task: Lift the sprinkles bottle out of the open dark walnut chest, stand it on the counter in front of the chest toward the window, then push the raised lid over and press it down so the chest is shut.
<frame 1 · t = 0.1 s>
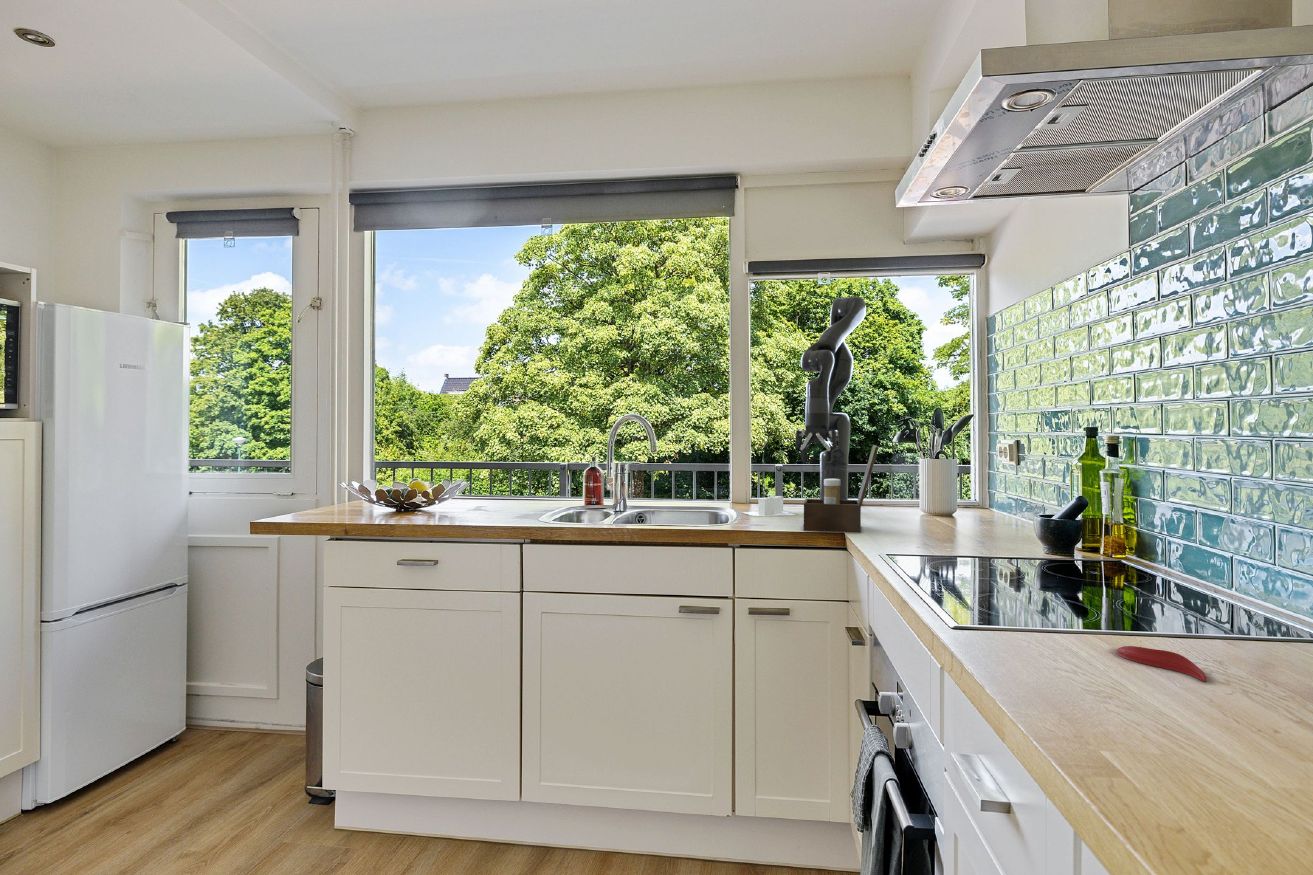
hand: (816, 462, 239), 17 cm above the countertop, tool pointing down, fingers open, 8 cm apart
cayenne pepper: (1161, 666, 91), on the countertop
chest: (831, 528, 209), on the countertop
chest lid: (867, 473, 207), point 16 cm above the countertop, hinge at 105.0°
napkin holder: (768, 514, 243), on the countertop
sprinkles bottle: (831, 527, 209), resting on chest
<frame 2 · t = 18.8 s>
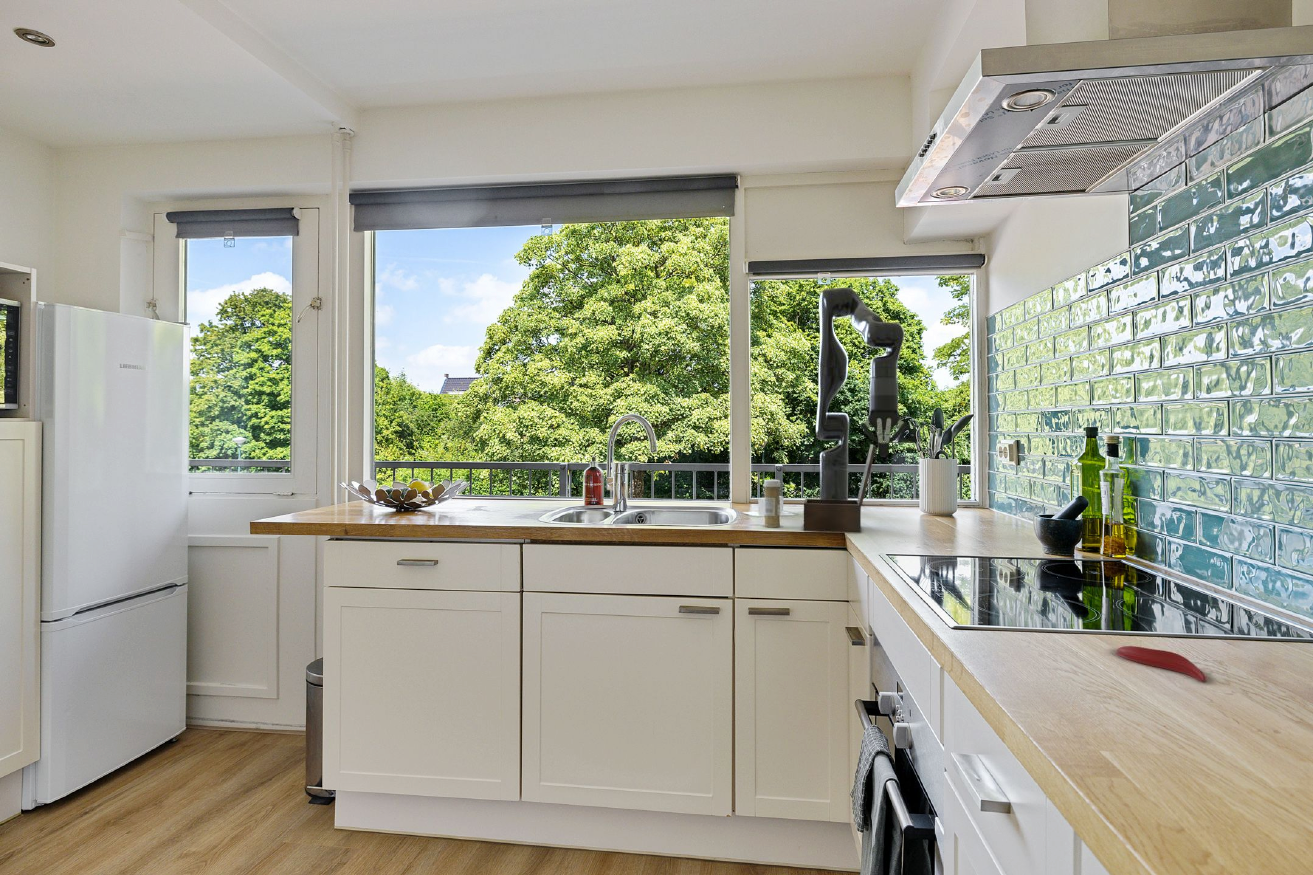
hand: (883, 456, 206), 21 cm above the countertop, tool pointing down, fingers closed
chest lid: (866, 473, 207), point 16 cm above the countertop, hinge at 102.6°
sprinkles bottle: (772, 527, 213), on the countertop
everything else where it was.
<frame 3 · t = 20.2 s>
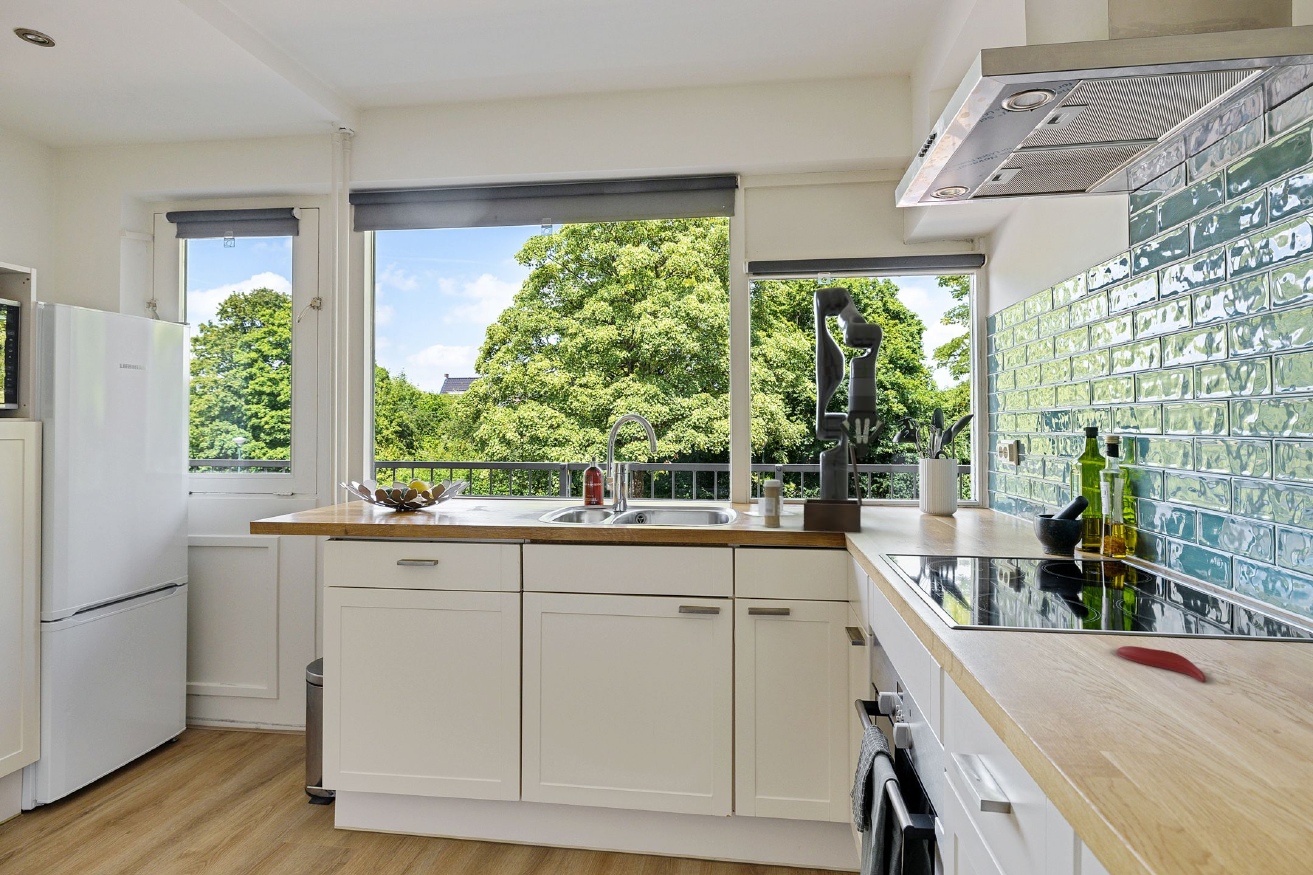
hand: (861, 456, 207), 20 cm above the countertop, tool pointing down, fingers closed
chest lid: (855, 472, 207), point 16 cm above the countertop, hinge at 81.1°
everything else where it was.
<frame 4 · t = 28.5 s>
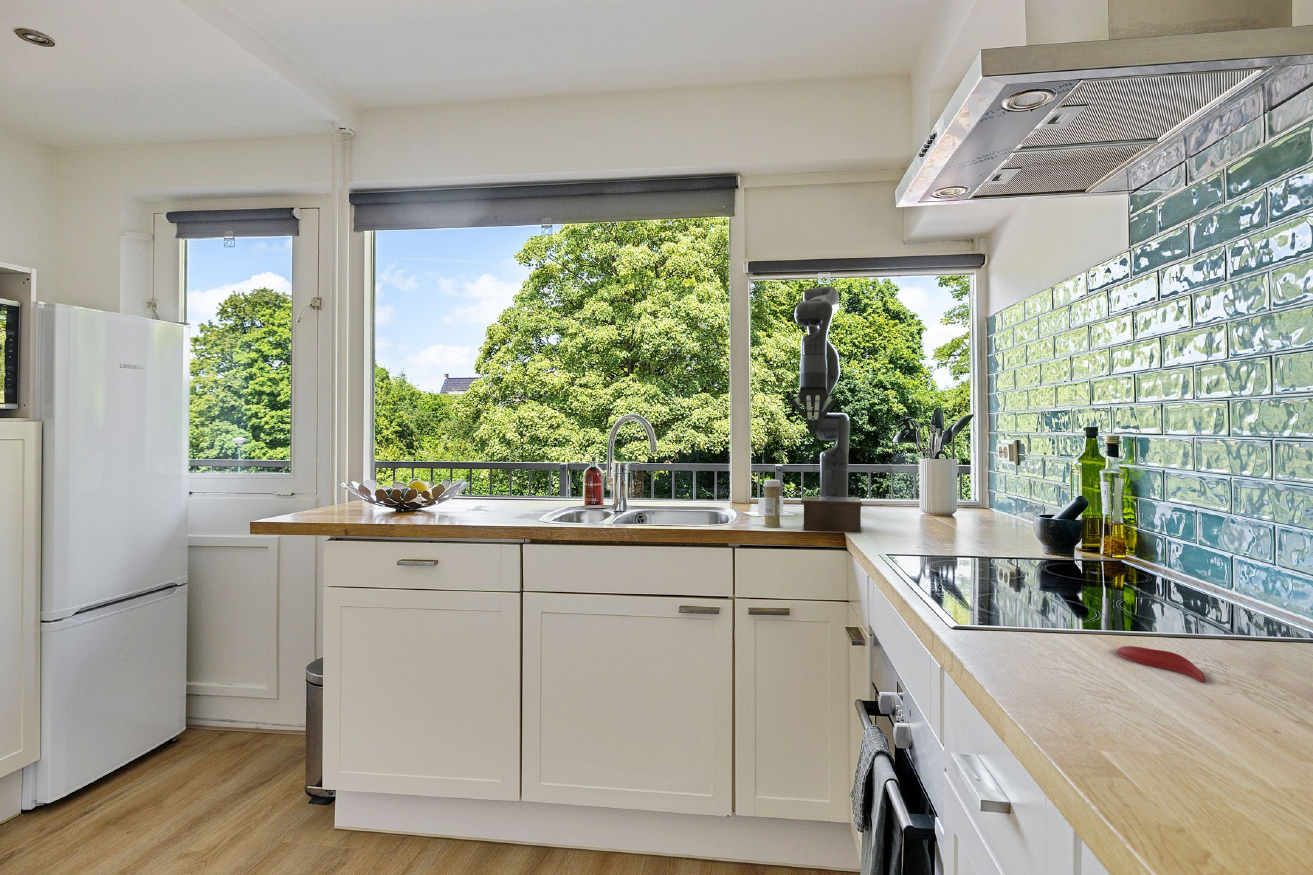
hand: (812, 433, 210), 27 cm above the countertop, tool pointing down, fingers closed
chest lid: (830, 500, 209), point 8 cm above the countertop, hinge at -0.1°
everything else where it was.
at the end: sprinkles bottle inside the target area (0.3 cm from its centre), on the countertop; sprinkles bottle tilted 0°; chest lid at +0° (first picture: +105°) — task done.
